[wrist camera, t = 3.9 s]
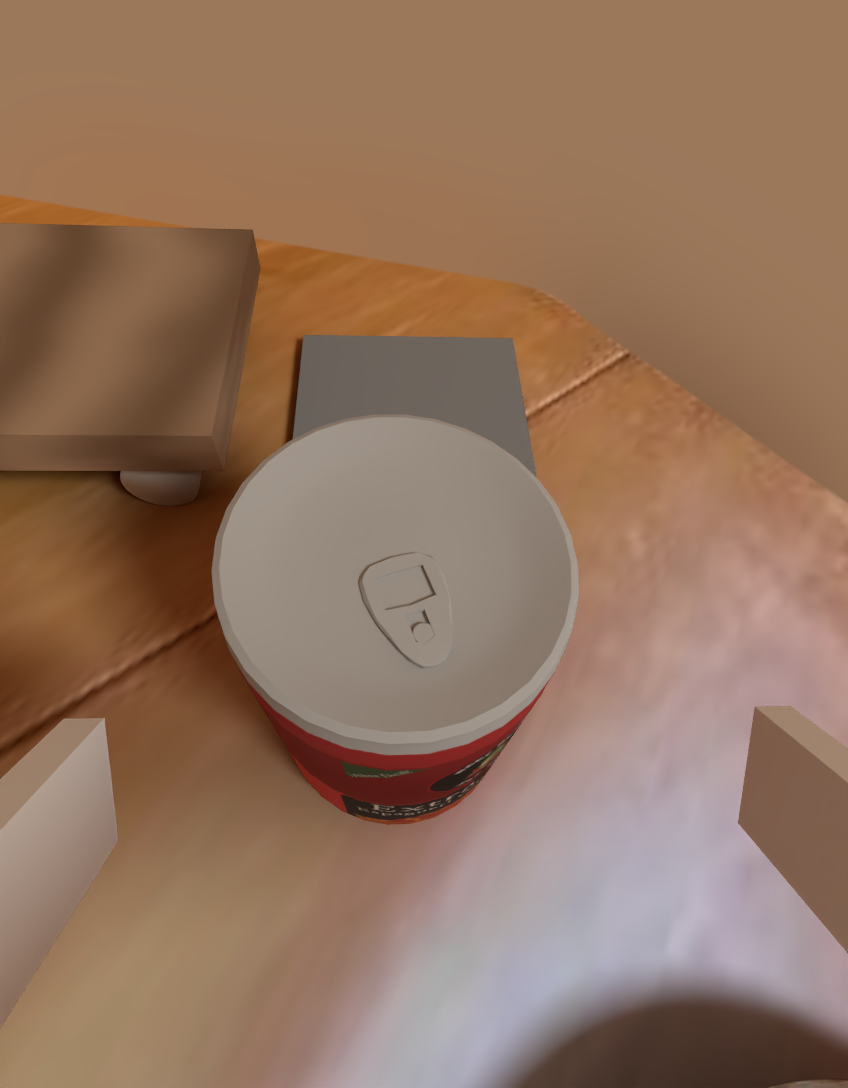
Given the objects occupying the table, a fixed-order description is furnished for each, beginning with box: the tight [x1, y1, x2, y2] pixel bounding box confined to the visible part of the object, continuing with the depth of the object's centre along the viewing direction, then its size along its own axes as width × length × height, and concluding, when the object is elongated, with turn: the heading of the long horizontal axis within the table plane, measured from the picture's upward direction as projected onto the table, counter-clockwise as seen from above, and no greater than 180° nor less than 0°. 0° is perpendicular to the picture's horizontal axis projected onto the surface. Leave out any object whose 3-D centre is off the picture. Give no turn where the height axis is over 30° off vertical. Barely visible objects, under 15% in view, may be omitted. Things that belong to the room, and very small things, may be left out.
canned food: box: [211, 415, 579, 825], centre depth 17 cm, size 8×8×11 cm
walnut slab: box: [0, 223, 260, 506], centre depth 27 cm, size 17×13×5 cm
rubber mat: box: [293, 335, 537, 478], centre depth 29 cm, size 11×11×1 cm
